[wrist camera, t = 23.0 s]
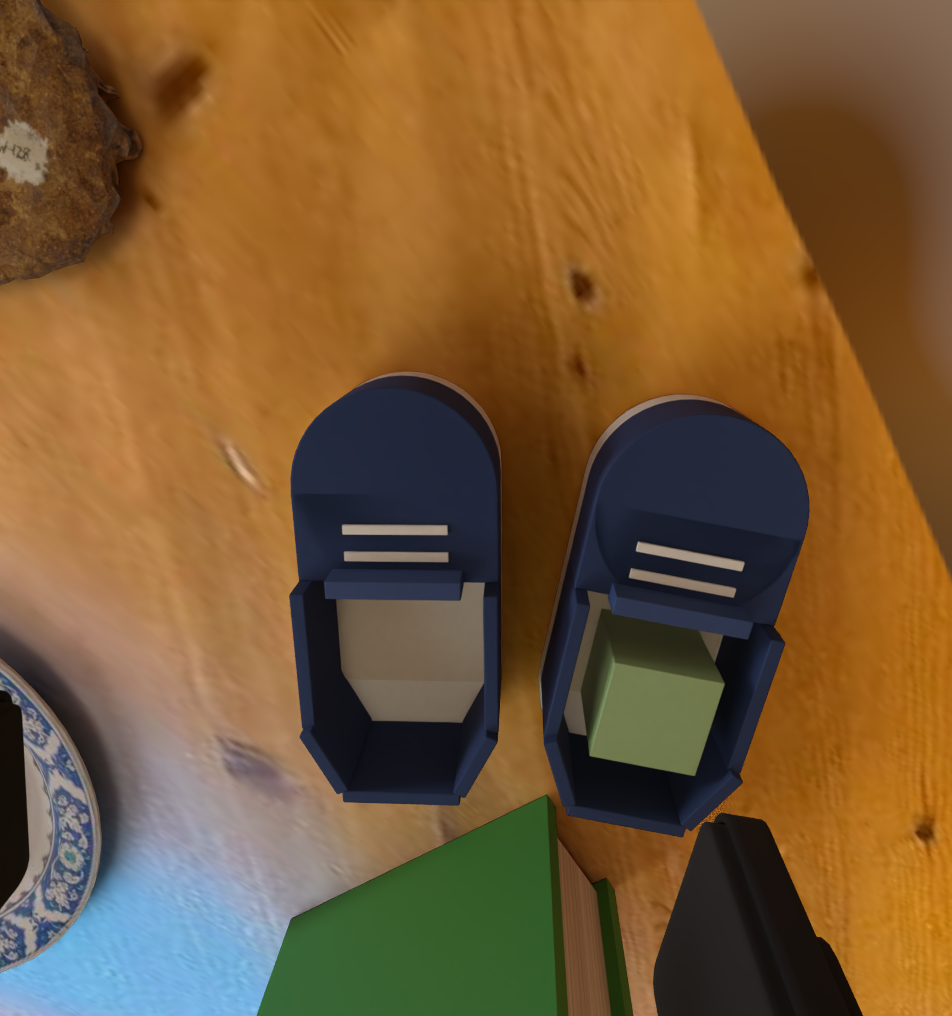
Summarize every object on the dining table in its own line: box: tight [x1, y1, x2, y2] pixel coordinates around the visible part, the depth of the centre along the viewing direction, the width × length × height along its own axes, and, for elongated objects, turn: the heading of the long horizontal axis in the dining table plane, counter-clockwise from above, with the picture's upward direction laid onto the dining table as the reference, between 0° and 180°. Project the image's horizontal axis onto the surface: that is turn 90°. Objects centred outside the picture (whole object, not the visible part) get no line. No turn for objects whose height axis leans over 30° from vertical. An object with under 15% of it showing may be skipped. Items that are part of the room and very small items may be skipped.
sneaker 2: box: [539, 394, 809, 837], centre depth 33 cm, size 19×9×7 cm, turn 170°
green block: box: [581, 609, 725, 776], centre depth 33 cm, size 5×5×5 cm
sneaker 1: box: [289, 371, 502, 805], centre depth 33 cm, size 19×9×7 cm, turn 1°
